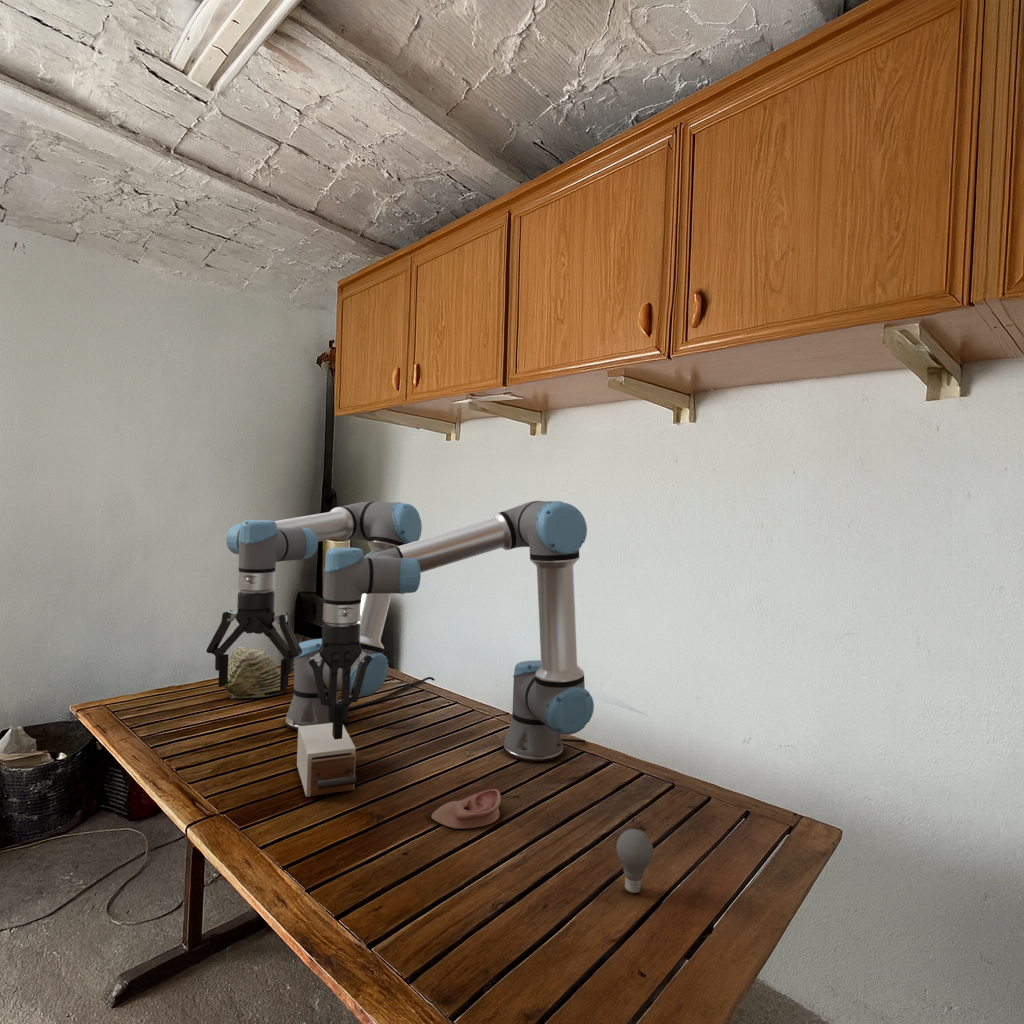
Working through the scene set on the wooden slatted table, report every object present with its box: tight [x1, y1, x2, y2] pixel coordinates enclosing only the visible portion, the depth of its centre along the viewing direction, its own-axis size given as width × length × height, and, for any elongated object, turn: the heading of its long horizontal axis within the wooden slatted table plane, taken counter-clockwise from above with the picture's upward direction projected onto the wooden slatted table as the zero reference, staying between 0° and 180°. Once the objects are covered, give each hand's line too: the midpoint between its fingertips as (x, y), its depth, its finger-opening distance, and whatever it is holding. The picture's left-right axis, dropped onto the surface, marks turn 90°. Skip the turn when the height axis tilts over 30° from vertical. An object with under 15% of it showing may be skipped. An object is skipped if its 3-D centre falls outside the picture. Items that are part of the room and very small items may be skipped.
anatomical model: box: [430, 788, 502, 830], centre depth 128 cm, size 13×4×12 cm
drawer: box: [309, 753, 357, 797], centre depth 138 cm, size 22×9×7 cm, turn 25°
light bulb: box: [615, 828, 654, 894], centre depth 106 cm, size 6×6×10 cm
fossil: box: [223, 646, 287, 699], centre depth 198 cm, size 9×18×15 cm, turn 132°
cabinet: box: [296, 723, 357, 798], centre depth 143 cm, size 17×10×9 cm, turn 25°
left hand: (253, 686), depth 139 cm, fingers open, 13 cm apart
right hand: (337, 736), depth 131 cm, fingers closed
